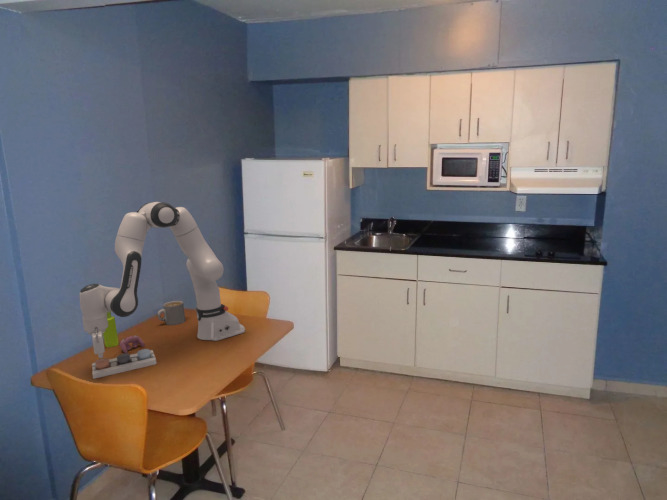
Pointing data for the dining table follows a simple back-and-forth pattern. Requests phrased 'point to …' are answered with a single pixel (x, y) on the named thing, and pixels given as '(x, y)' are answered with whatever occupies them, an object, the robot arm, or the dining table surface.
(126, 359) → the charcoal button
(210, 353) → the dining table surface
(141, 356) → the pale blue button
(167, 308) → the coffee mug
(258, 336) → the dining table surface
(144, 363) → the button board
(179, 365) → the dining table surface
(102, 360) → the terracotta button
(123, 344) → the video game controller
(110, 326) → the soap dispenser
